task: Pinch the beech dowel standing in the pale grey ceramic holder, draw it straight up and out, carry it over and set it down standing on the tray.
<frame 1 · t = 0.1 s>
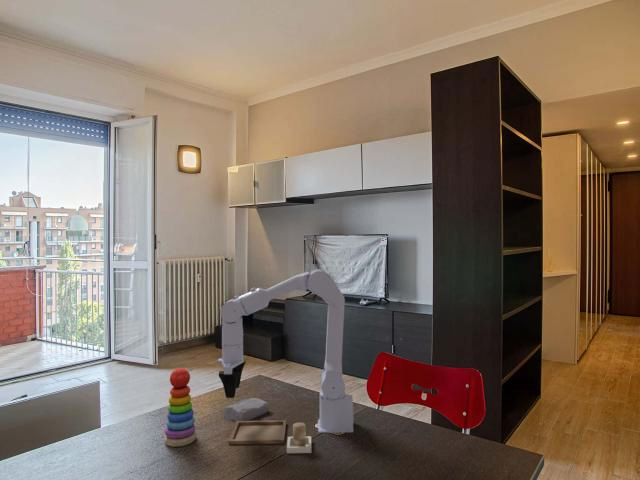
hand: (232, 392, 119), 10 cm above the table, tool pointing down, fingers open, 7 cm apart
holder: (299, 448, 108), on the table
tray: (259, 434, 116), on the table
stacking toy: (180, 441, 112), on the table
dowel: (299, 447, 108), resting on holder
stone block: (244, 415, 129), on the table
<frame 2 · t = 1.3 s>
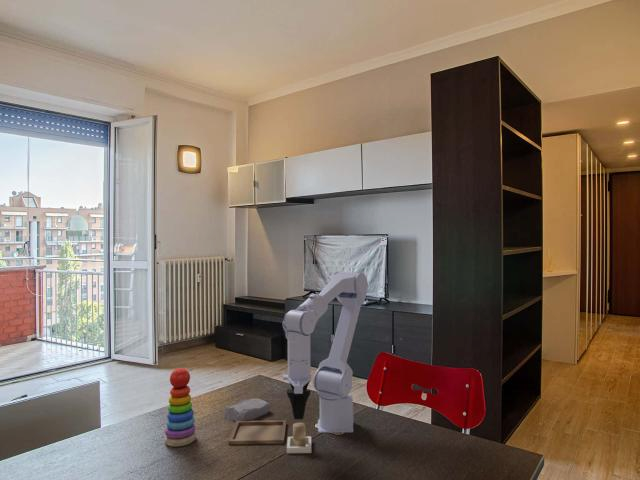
hand: (299, 412, 108), 9 cm above the table, tool pointing down, fingers open, 7 cm apart
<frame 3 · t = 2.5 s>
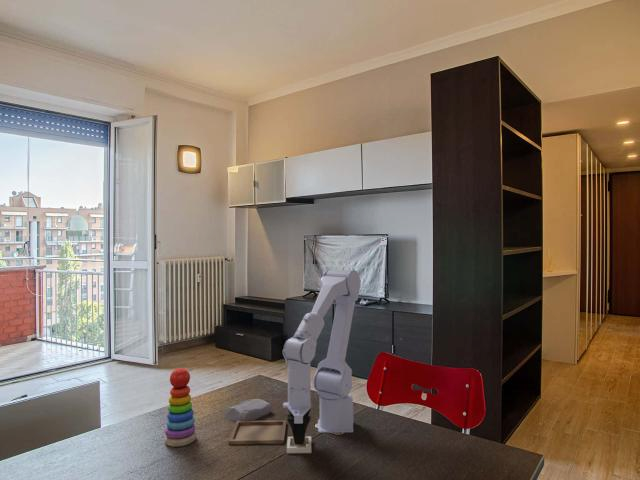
hand: (299, 440, 108), 2 cm above the table, tool pointing down, fingers closed on dowel, 3 cm apart
dowel: (299, 447, 108), resting on holder, touching gripper
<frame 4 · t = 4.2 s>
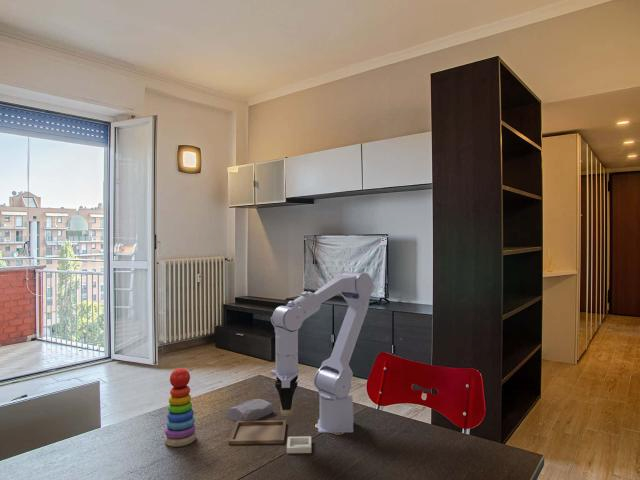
hand: (286, 406, 110), 10 cm above the table, tool pointing down, fingers closed on dowel, 3 cm apart
dowel: (286, 413, 110), point 8 cm above the table, touching gripper
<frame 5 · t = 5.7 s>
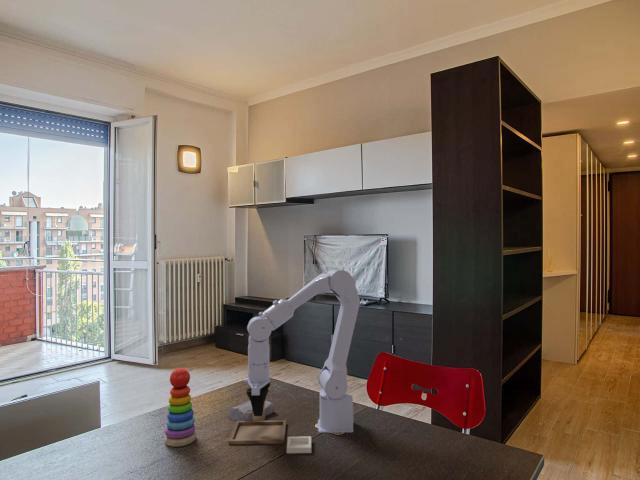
hand: (258, 412, 116), 6 cm above the table, tool pointing down, fingers closed on dowel, 3 cm apart
dowel: (258, 419, 116), point 4 cm above the table, touching gripper
when the fingers open (2 cm above the table, at t = 6.8 s): dowel stays where it is, resting on tray.
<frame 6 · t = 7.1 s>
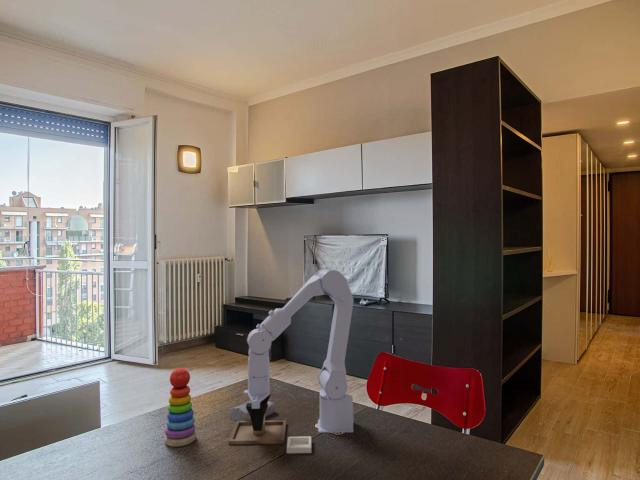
hand: (259, 425, 116), 3 cm above the table, tool pointing down, fingers open, 6 cm apart
dowel: (259, 433, 116), resting on tray
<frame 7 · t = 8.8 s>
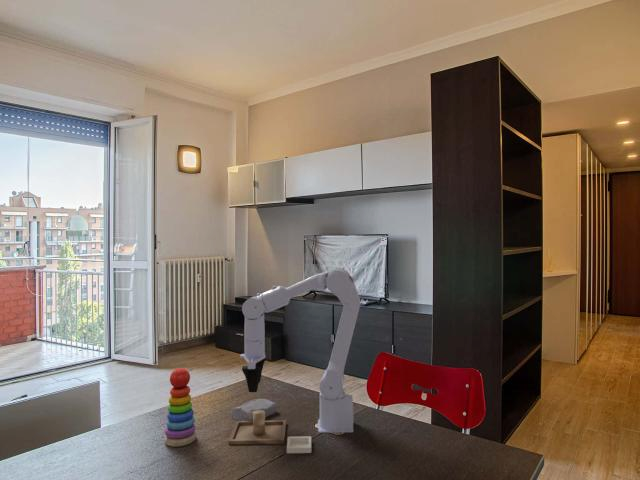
hand: (254, 387, 123), 10 cm above the table, tool pointing down, fingers open, 7 cm apart
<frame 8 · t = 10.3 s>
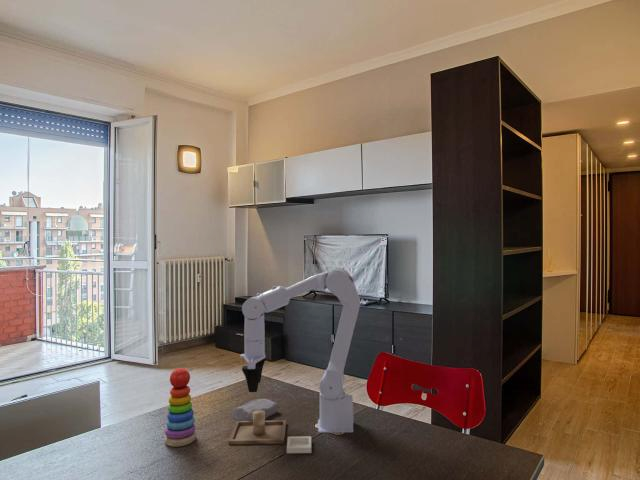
hand: (254, 387, 123), 10 cm above the table, tool pointing down, fingers open, 7 cm apart
at the end: dowel inside the target area on the tray (0.0 cm from its centre), point 0.4 cm above the tray's base; dowel tilted 0°; the gripper is holding nothing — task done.
